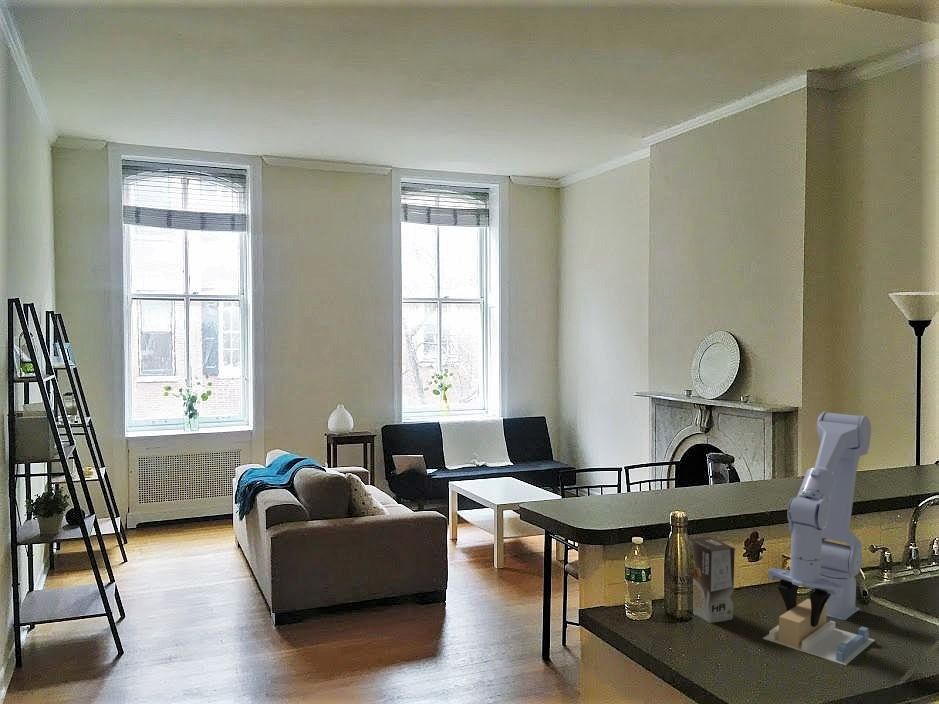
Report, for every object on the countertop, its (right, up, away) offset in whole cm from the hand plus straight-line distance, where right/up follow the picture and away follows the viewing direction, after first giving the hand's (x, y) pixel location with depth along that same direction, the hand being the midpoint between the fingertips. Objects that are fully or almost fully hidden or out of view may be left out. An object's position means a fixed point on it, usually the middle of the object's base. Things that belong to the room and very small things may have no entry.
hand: (803, 621), depth 159 cm
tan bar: (0, -3, 0) cm, 3 cm away
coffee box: (-16, -3, +11) cm, 19 cm away
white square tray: (+2, -3, -2) cm, 5 cm away
